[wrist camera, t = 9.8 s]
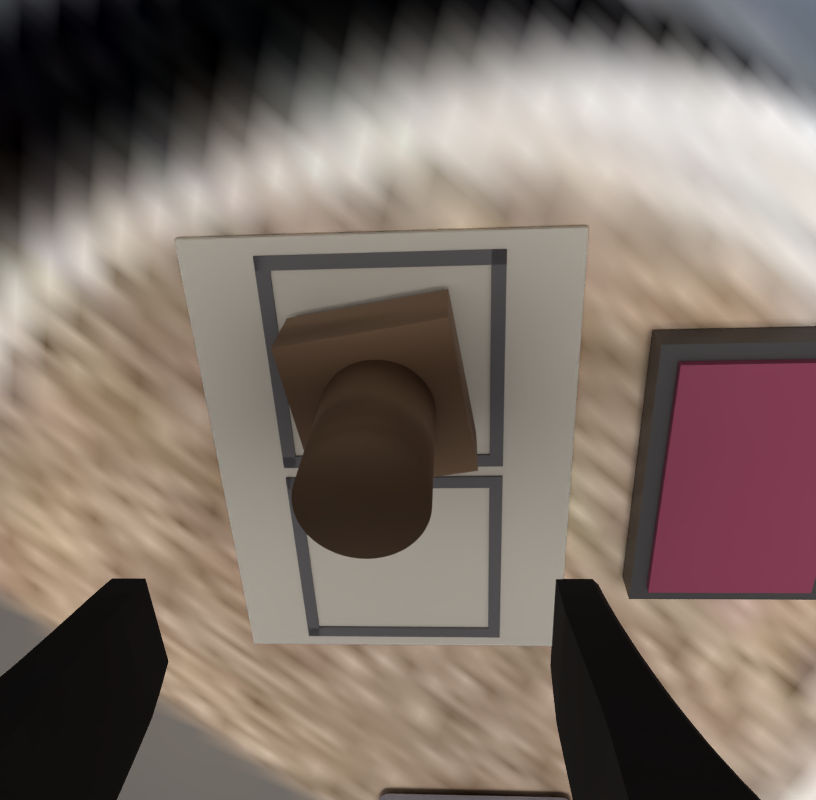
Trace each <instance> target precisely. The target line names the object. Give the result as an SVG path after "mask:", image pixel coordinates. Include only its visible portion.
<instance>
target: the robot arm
mask: <svg viewBox="0 0 816 800" xmlns="http://www.w3.org/2000/svg"><path fill="white" fill-rule="evenodd" d="M167 665H168V658H167V655H166V651H165V648H164V644H163V641H162V637H161V633H160V630H159V626H158V623H157V619H156V615H155V612H154V608H153V605H152V601H151V597H150V594H149V590H148V587H147V583H146V580H145V579H111V580H110V581H109V582H108V583H106V584H105V585H104V586H103V587H102V588H100V589H99V590H98V591H97V592H96V593H95V594H94V595H93V596H91V597H90V598H89V599H88V600H87V601H86V602H85V603H84V604H83V605H81V606H80V607H79V608H78V609H77V610H76V611H75V612H74V613H73V614H72V615H70V616H69V617H68V618H67V619H66V620H65V621H64V622H63V623H62V624H60V625H59V626H58V627H57V628H56V629H55V630H54V631H53V632H52V633H50V634H49V635H48V636H47V637H46V638H45V639H44V640H43V641H41V642H40V643H39V644H38V645H37V646H36V647H35V648H33V650H31V651H30V652H29V653H28V654H27V655H26V656H25V657H23V658H22V659H21V660H20V661H19V662H18V663H16V664H15V665H14V666H13V667H12V668H11V669H9V670H8V671H7V672H6V673H4V674H3V675H2V676H1V677H0V800H117V798H118V795H119V793H120V791H121V789H122V786H123V784H124V782H125V779H126V777H127V775H128V773H129V770H130V768H131V765H132V764H133V761H134V759H135V757H136V754H137V752H138V750H139V747H140V745H141V742H142V740H143V738H144V735H145V733H146V731H147V728H148V726H149V724H150V721H151V718H152V716H153V713H154V709H155V706H156V703H157V700H158V697H159V693H160V690H161V686H162V683H163V679H164V675H165V672H166V668H167ZM551 674H552V684H553V694H554V703H555V712H556V721H557V727H558V732H559V737H560V742H561V746H562V751H563V756H564V760H565V765H566V770H567V775H568V779H569V784H570V788H571V793H572V798H573V800H760V799H759V798H758V797H757V795H756V794H755V793H754V792H753V791H752V790H751V789H750V788H749V787H748V786H747V785H746V784H745V783H744V782H743V781H742V780H741V779H740V778H739V777H738V776H737V775H736V773H735V772H734V771H733V770H732V769H731V768H730V767H729V766H728V765H727V764H726V763H725V761H724V760H723V759H722V758H721V757H720V756H719V755H718V754H717V753H716V751H715V750H714V749H713V748H712V747H711V746H710V744H709V743H708V742H707V741H706V740H705V739H704V737H703V736H702V735H701V734H700V733H699V731H698V730H697V729H696V728H695V727H694V725H693V724H692V723H691V722H690V720H689V719H688V718H687V717H686V715H685V714H684V713H683V712H682V710H681V709H680V708H679V707H678V705H677V704H676V703H675V701H674V700H673V699H672V698H671V696H670V695H669V694H668V692H667V691H666V690H665V688H664V687H663V686H662V684H661V683H660V681H659V680H658V679H657V677H656V676H655V674H654V673H653V672H652V670H651V669H650V667H649V666H648V664H647V663H646V662H645V660H644V659H643V657H642V656H641V655H640V653H639V652H638V650H637V649H636V647H635V646H634V644H633V643H632V641H631V640H630V638H629V636H628V635H627V633H626V632H625V630H624V629H623V627H622V625H621V624H620V622H619V621H618V619H617V617H616V616H615V614H614V612H613V611H612V609H611V607H610V605H609V604H608V602H607V600H606V598H605V597H604V595H603V593H602V591H601V589H600V587H599V585H598V584H597V583H596V582H595V581H594V580H593V579H556V586H555V602H554V618H553V634H552V650H551ZM379 800H568V799H566V798H562V797H523V796H479V795H434V794H385V795H382V796H381V797H380V798H379Z"/></svg>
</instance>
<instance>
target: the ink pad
mask: <svg viewBox="0 0 816 800" xmlns="http://www.w3.org/2000/svg"><path fill="white" fill-rule="evenodd" d="M623 580H624V583H625V587H626V590H627V593H628V597H629V599H796V600H816V327H780V328H730V329H681V330H653V332H652V341H651V349H650V357H649V365H648V374H647V382H646V390H645V398H644V407H643V415H642V423H641V432H640V440H639V448H638V456H637V465H636V473H635V481H634V490H633V498H632V506H631V514H630V523H629V531H628V539H627V548H626V556H625V564H624V572H623Z"/></svg>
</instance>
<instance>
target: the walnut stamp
mask: <svg viewBox="0 0 816 800" xmlns="http://www.w3.org/2000/svg"><path fill="white" fill-rule="evenodd" d="M271 350H272V354H273V357H274V360H275V363H276V366H277V369H278V372H279V375H280V378H281V381H282V384H283V388H284V391H285V394H286V397H287V400H288V403H289V406H290V409H291V412H292V415H293V419H294V422H295V425H296V428H297V431H298V434H299V437H300V440H301V443H302V446H303V449H304V453H303V456H302V459H301V462H300V465H299V468H298V471H297V474H296V477H295V480H294V483H293V488H292V495H291V500H292V507H293V511H294V514H295V517H296V519H297V521H298V523H299V524H300V526H301V528H302V529H303V530H304V531H305V533H306V534H307V535H308V536H309V537H310V538H311V539H312V540H314V541H315V542H316V543H318V544H319V545H321V546H322V547H324V548H326V549H327V550H330V551H332V552H334V553H337V554H340V555H342V556H347V557H351V558H359V559H374V558H381V557H386V556H390V555H393V554H396V553H398V552H400V551H402V550H404V549H406V548H408V547H409V546H410V545H412V544H413V543H414V542H415V541H416V540H417V539H418V538H419V537H420V536H421V535H422V534H423V532H424V531H425V529H426V527H427V525H428V524H429V521H430V518H431V513H432V499H433V477H438V476H445V475H452V474H459V473H466V472H473V471H478V458H477V439H476V429H475V424H474V419H473V414H472V409H471V403H470V398H469V393H468V388H467V383H466V378H465V373H464V367H463V362H462V357H461V352H460V347H459V342H458V336H457V331H456V326H455V321H454V316H453V311H452V305H451V300H450V295H449V290H448V289H446V290H444V289H441V290H436V291H430V292H425V293H419V294H414V295H408V296H402V297H397V298H391V299H386V300H380V301H375V302H369V303H364V304H358V305H353V306H347V307H342V308H336V309H331V310H325V311H320V312H314V313H309V314H303V315H298V316H296V317H291V318H287V319H286V321H285V323H284V324H283V326H282V328H281V330H280V332H279V334H278V336H277V338H276V340H275V342H274V344H273V345H272V347H271Z"/></svg>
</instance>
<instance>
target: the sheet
mask: <svg viewBox="0 0 816 800" xmlns="http://www.w3.org/2000/svg"><path fill="white" fill-rule="evenodd" d="M588 231H589V227H588V225H586V226H553V227H519V228H486V229H452V230H418V231H385V232H351V233H318V234H284V235H251V236H217V237H184V238H176V239H175V240H174V241H175V246H176V251H177V256H178V262H179V267H180V272H181V277H182V282H183V287H184V292H185V297H186V302H187V307H188V312H189V317H190V322H191V327H192V332H193V337H194V342H195V347H196V353H197V358H198V363H199V368H200V373H201V378H202V383H203V388H204V393H205V398H206V403H207V408H208V413H209V418H210V423H211V428H212V433H213V439H214V444H215V449H216V454H217V459H218V464H219V469H220V474H221V479H222V484H223V489H224V494H225V499H226V504H227V509H228V514H229V519H230V524H231V530H232V535H233V540H234V545H235V550H236V555H237V560H238V565H239V570H240V575H241V580H242V585H243V590H244V595H245V600H246V605H247V610H248V615H249V621H250V626H251V631H252V636H253V641H254V644H365V645H480V646H552V634H553V618H554V602H555V586H556V579H564V567H565V553H566V539H567V525H568V511H569V497H570V483H571V469H572V455H573V441H574V427H575V413H576V399H577V385H578V371H579V357H580V343H581V329H582V315H583V301H584V287H585V273H586V259H587V245H588ZM441 289H444V290H446V289H448V290H449V295H450V300H451V305H452V311H453V316H454V321H455V326H456V331H457V336H458V342H459V347H460V352H461V357H462V362H463V367H464V373H465V378H466V383H467V388H468V393H469V398H470V403H471V409H472V414H473V419H474V424H475V429H476V439H477V458H478V471H473V472H466V473H459V474H452V475H445V476H438V477H433V499H432V513H431V518H430V521H429V524H428V525H427V527H426V529H425V531H424V532H423V534H422V535H421V536H420V537H419V538H418V539H417V540H416V541H415V542H414V543H413V544H412V545H410V546H409V547H408V548H406V549H404V550H402V551H400V552H398V553H396V554H393V555H390V556H386V557H381V558H374V559H359V558H351V557H347V556H342V555H340V554H337V553H334V552H332V551H330V550H327V549H326V548H324V547H322V546H321V545H319V544H318V543H316V542H315V541H314V540H312V539H311V538H310V537H309V536H308V535H307V534H306V533H305V531H304V530H303V529H302V528H301V526H300V524H299V523H298V521H297V519H296V517H295V514H294V511H293V507H292V500H291V495H292V488H293V483H294V480H295V477H296V474H297V471H298V468H299V465H300V462H301V459H302V456H303V453H304V449H303V446H302V443H301V440H300V437H299V434H298V431H297V428H296V425H295V422H294V419H293V415H292V412H291V409H290V406H289V403H288V400H287V397H286V394H285V391H284V388H283V384H282V381H281V378H280V375H279V372H278V369H277V366H276V363H275V360H274V357H273V354H272V350H271V347H272V345H273V344H274V342H275V340H276V338H277V336H278V334H279V332H280V330H281V328H282V326H283V324H284V323H285V321H286V319H287V318H291V317H296V316H298V315H303V314H309V313H314V312H320V311H325V310H331V309H336V308H342V307H347V306H353V305H358V304H364V303H369V302H375V301H380V300H386V299H391V298H397V297H402V296H408V295H414V294H419V293H425V292H430V291H436V290H441Z"/></svg>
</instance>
